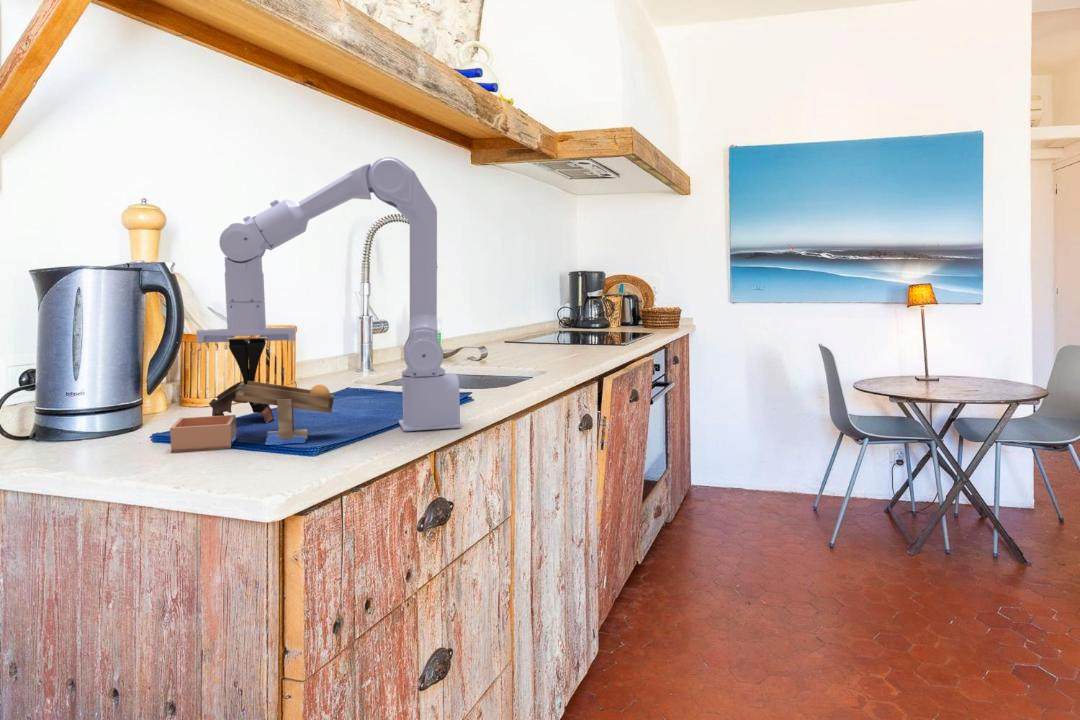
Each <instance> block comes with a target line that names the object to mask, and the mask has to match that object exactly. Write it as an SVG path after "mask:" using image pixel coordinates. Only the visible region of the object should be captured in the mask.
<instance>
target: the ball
mask: <svg viewBox="0 0 1080 720" xmlns="http://www.w3.org/2000/svg"><path fill="white" fill-rule="evenodd" d="M310 390H311V391H310V394H314V395H321V396H327V397H329V396H330V393H331V392H330V390H329V388H328V387H327V386H326V385H324V384H316V385H314V386H313V387H312V388H311V389H310Z"/></svg>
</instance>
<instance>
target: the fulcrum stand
mask: <svg viewBox="0 0 1080 720" xmlns="http://www.w3.org/2000/svg"><path fill="white" fill-rule="evenodd" d="M276 406H277V425H278V428H277V429H278V430H274V431H273V430H271V431H267V433H278V434H279V439H293V435H294V436H295V435H296V436H300V437H301V436H302V437H305V438H307V439H308V428H304V429H295V423H294V421H295V419H294V417H295V416H294V408H292V406H291V399H278V400H277V405H276Z"/></svg>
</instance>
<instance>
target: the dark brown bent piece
mask: <svg viewBox="0 0 1080 720" xmlns="http://www.w3.org/2000/svg"><path fill="white" fill-rule="evenodd" d="M241 383H244V381H243V380H241V381H238V382H236V383H235V384H233V385H231V386H229V387H227V389H225V390H223V391H222V392H221V393H220V394H218V395H217V396H216V398H217V399H215V398H213V399H211V400H210V402H209V403H208V405H209V406H210V407H211V409H212V411H211V415H212V416H225V412H227V413H231V414H232V405H233V402H234V403H237V404H238V403H239V404H240V403H243V404H247V403H248V404H249V405H250V407H251V410H252V413H255V414H256V413H258V414H260V415H261V417H263V420H264V423H265V422H269V421H270V422H271V421H273V419H274V417H275V415H274V414H273V411H272V408H271V407H270V405H269V404H262V403H255V402H248V401H241V400H235V398H236V394H235V392H236V388H237V387H238V386H239V384H241ZM270 422H269V423H270Z"/></svg>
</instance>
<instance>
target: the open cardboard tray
mask: <svg viewBox="0 0 1080 720" xmlns="http://www.w3.org/2000/svg"><path fill="white" fill-rule="evenodd" d="M236 419H237V418H236V414H231V415H229V414H228V415H225V414H224V416H210V415H209V416H193V417H180V418H178V419H177V420H176V421H175V422H174V423H173V424H172V425H171V427H170V428H169V434H170V448H171V452H170V453H171V454H172V453H183V452H199V451H212V450H213V451H215V450H228V449H229V450H230V449H232V448H231V441H232V439H233V438H234V436H235V435H236V434H237V420H236Z"/></svg>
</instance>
